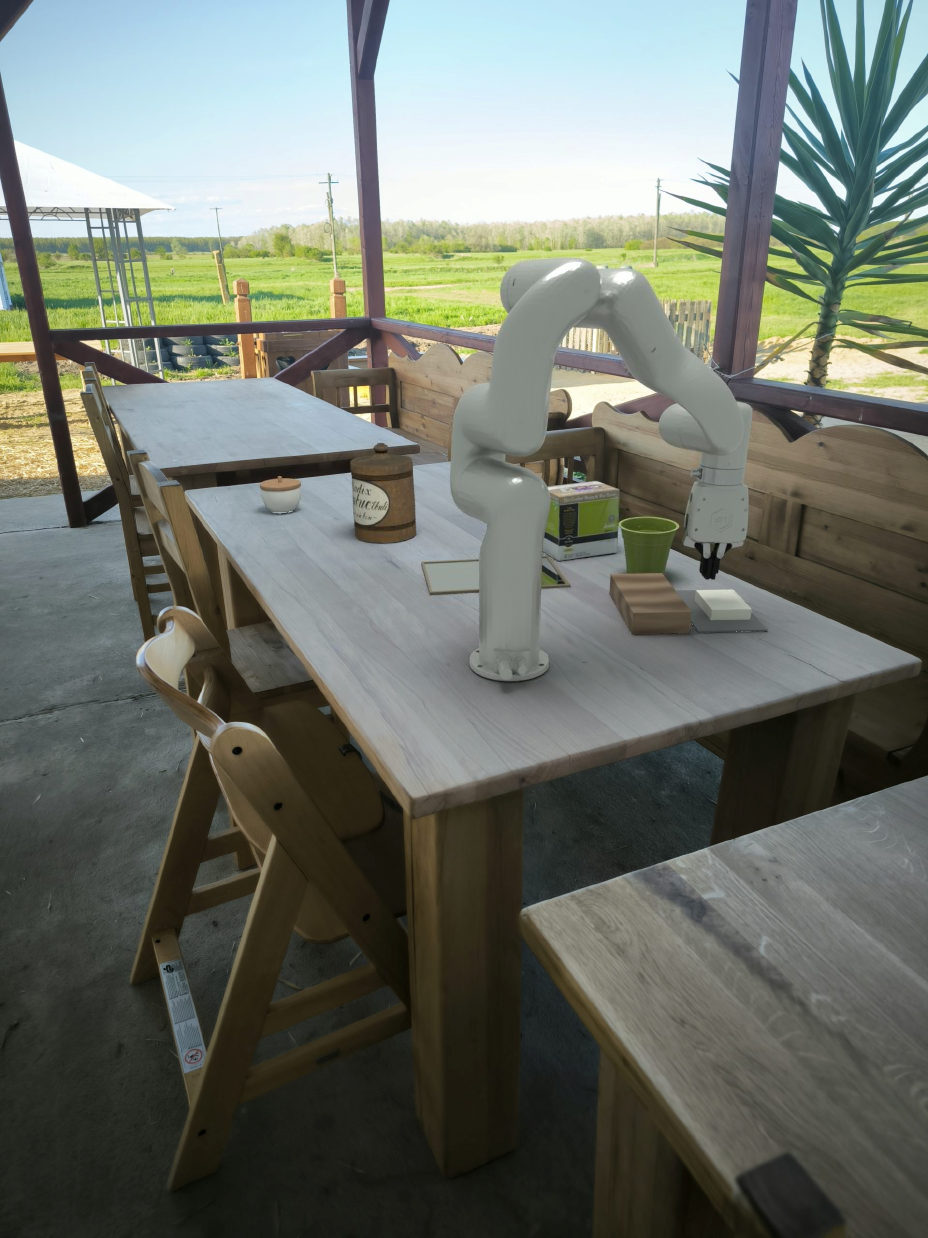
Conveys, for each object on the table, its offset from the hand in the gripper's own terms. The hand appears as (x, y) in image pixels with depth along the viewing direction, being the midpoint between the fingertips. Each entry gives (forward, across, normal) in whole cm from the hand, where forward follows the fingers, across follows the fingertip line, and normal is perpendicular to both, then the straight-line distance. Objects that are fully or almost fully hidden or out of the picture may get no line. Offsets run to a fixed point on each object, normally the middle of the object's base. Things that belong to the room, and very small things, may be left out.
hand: (708, 577), depth 147 cm
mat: (+7, +2, 0) cm, 7 cm away
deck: (+7, -10, 0) cm, 12 cm away
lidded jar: (+8, -90, +77) cm, 119 cm away
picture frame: (+8, -37, +22) cm, 44 cm away
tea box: (+7, -17, +37) cm, 42 cm away
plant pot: (+7, -6, +19) cm, 22 cm away
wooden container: (+8, -61, +53) cm, 82 cm away
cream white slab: (+4, +3, 0) cm, 5 cm away
